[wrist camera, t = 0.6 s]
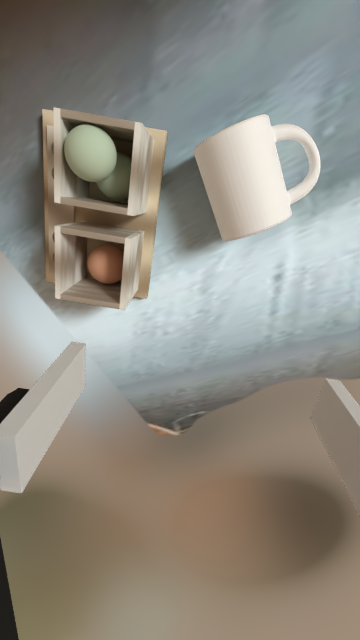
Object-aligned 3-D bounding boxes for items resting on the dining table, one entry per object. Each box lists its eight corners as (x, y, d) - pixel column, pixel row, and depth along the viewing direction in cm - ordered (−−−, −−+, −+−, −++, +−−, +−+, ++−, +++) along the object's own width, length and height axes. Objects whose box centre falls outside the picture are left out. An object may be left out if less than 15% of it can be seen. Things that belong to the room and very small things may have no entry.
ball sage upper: (91, 143, 31) (57, 112, 26) (130, 143, 29) (100, 110, 25) (83, 189, 31) (48, 166, 27) (121, 191, 29) (90, 167, 25)
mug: (220, 236, 38) (225, 245, 30) (193, 155, 34) (192, 143, 27) (313, 200, 36) (344, 200, 28) (294, 109, 32) (324, 82, 25)
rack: (47, 111, 33) (-4, 82, 25) (167, 133, 34) (157, 110, 25) (50, 279, 41) (11, 300, 33) (147, 296, 41) (135, 321, 33)
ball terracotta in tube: (95, 238, 37) (82, 244, 33) (132, 245, 38) (123, 251, 33) (94, 274, 39) (81, 284, 35) (129, 280, 39) (120, 291, 35)
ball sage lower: (100, 149, 33) (91, 146, 29) (142, 157, 34) (139, 155, 29) (99, 194, 35) (89, 197, 31) (138, 201, 36) (135, 205, 32)
